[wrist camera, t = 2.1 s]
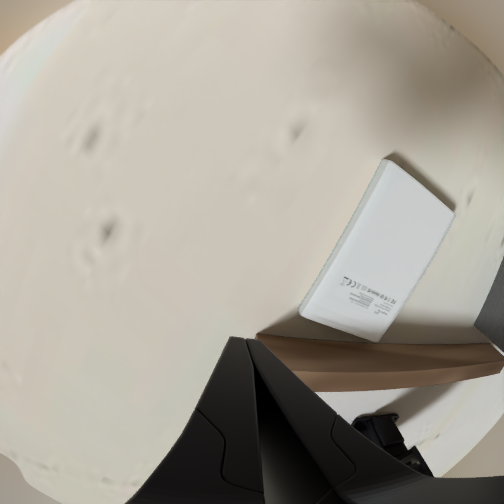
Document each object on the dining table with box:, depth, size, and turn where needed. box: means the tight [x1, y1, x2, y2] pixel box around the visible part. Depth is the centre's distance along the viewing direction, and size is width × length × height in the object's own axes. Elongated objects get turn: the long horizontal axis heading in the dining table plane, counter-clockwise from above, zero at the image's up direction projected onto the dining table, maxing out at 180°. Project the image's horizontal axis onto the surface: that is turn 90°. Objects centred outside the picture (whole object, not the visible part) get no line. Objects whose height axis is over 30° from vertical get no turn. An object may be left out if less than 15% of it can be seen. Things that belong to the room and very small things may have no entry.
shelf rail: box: [255, 334, 504, 392], centre depth 24 cm, size 2×31×4 cm, turn 76°
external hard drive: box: [298, 159, 456, 342], centre depth 21 cm, size 2×8×12 cm
